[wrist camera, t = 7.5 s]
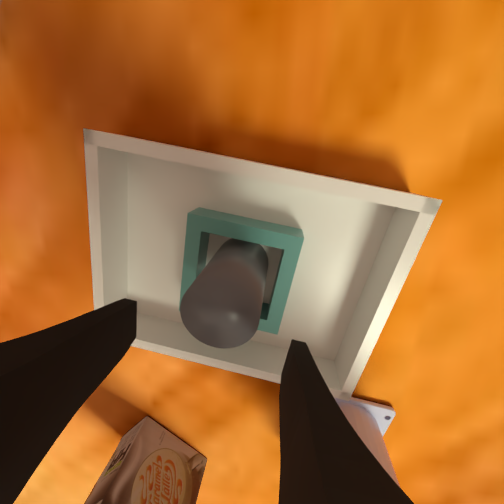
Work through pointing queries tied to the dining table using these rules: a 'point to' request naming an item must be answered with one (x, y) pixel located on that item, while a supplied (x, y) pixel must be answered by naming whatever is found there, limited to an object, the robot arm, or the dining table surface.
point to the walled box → (256, 231)
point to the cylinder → (227, 296)
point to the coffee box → (150, 469)
